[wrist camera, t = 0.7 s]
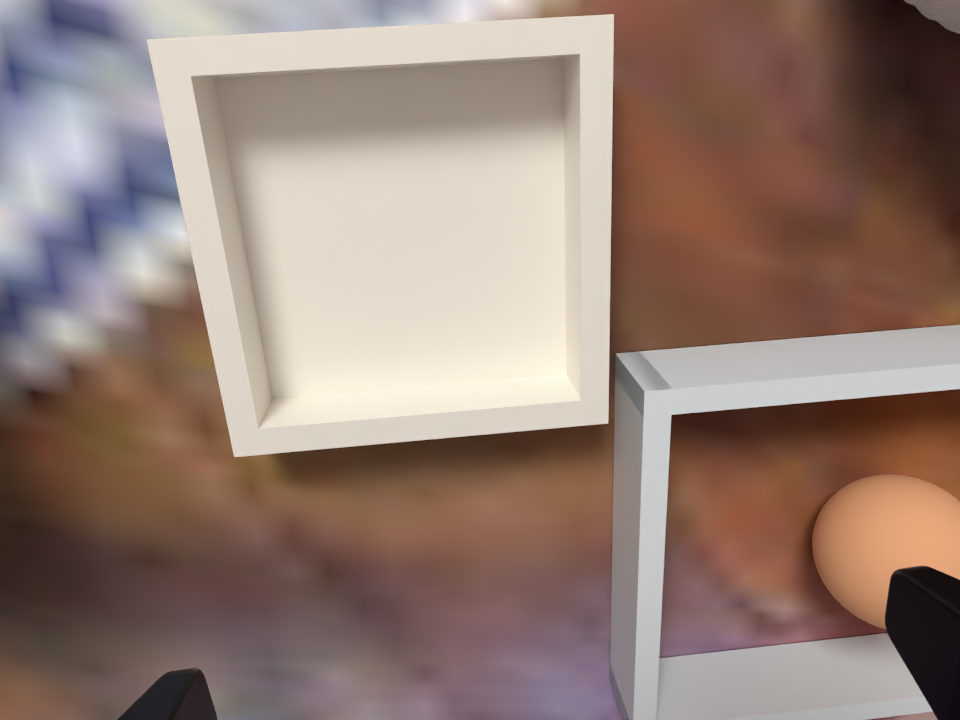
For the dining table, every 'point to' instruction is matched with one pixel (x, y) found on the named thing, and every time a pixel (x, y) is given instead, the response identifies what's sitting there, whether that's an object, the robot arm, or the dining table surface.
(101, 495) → the dining table surface
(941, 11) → the ramekin
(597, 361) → the dish
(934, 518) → the ball
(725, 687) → the white c-shaped bracket
